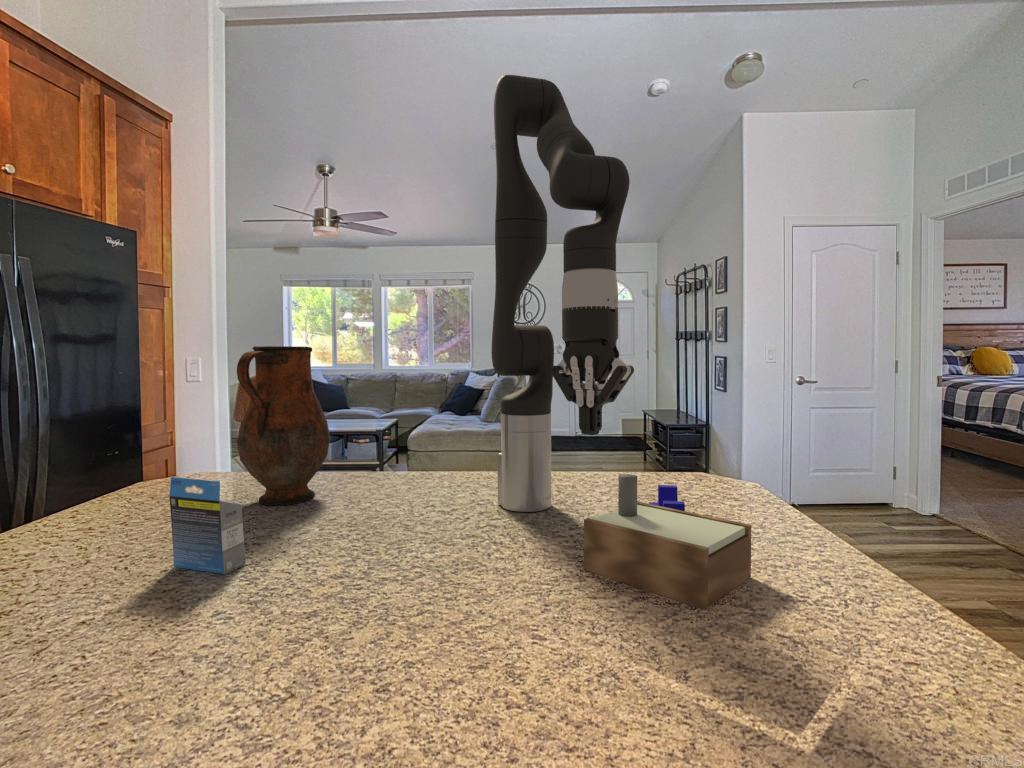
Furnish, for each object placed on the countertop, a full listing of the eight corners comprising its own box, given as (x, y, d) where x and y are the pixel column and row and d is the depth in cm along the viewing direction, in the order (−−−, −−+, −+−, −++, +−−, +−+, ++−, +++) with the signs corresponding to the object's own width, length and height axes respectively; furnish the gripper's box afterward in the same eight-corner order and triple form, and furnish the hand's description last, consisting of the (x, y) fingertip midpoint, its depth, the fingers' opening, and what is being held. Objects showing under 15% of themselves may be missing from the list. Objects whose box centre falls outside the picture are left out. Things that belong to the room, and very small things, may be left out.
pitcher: (346, 489, 118) (343, 346, 117) (288, 519, 97) (283, 344, 96) (274, 487, 121) (270, 347, 120) (203, 514, 100) (197, 345, 99)
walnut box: (584, 575, 71) (583, 519, 71) (636, 551, 80) (636, 501, 79) (704, 616, 60) (705, 549, 59) (750, 583, 68) (751, 524, 68)
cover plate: (591, 525, 71) (591, 479, 71) (634, 510, 78) (634, 468, 78) (707, 555, 61) (707, 501, 60) (745, 534, 67) (745, 485, 67)
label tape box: (246, 565, 76) (243, 474, 75) (222, 576, 72) (219, 481, 71) (196, 558, 79) (193, 470, 78) (170, 568, 75) (166, 476, 74)
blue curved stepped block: (648, 519, 96) (648, 484, 96) (676, 520, 95) (676, 485, 95) (653, 542, 84) (653, 502, 84) (684, 544, 83) (684, 504, 83)
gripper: (534, 308, 78) (536, 433, 79) (614, 300, 69) (615, 441, 70) (569, 311, 84) (570, 428, 84) (647, 304, 74) (647, 435, 75)
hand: (590, 434), depth 77 cm, fingers closed
